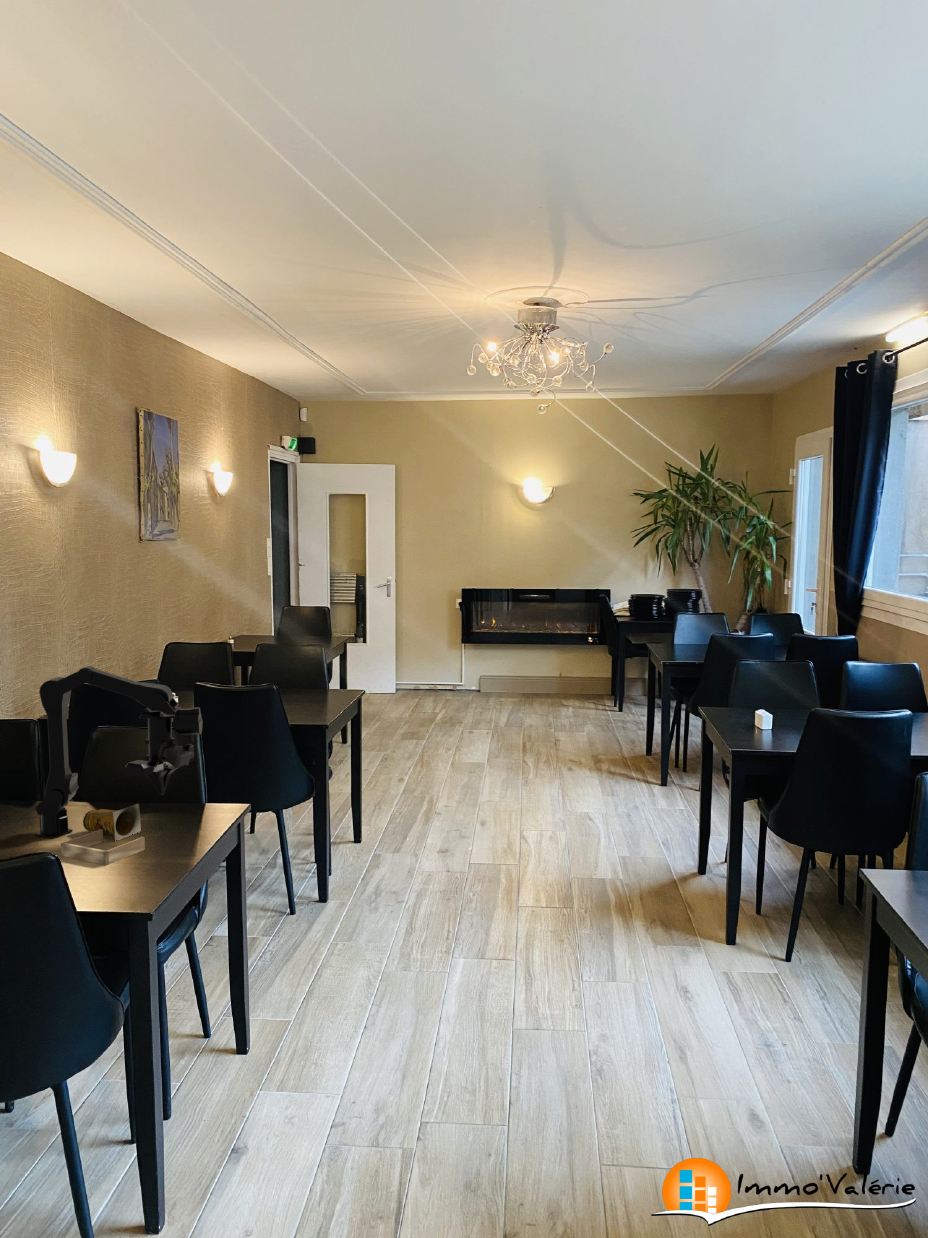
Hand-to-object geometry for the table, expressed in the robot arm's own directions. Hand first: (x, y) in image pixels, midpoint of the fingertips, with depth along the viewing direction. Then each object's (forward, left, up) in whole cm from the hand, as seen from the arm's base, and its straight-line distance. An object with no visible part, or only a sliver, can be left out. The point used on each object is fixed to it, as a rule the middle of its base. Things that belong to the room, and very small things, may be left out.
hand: (161, 794), depth 230 cm
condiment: (-3, -8, -6) cm, 10 cm away
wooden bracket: (0, -19, -9) cm, 21 cm away
